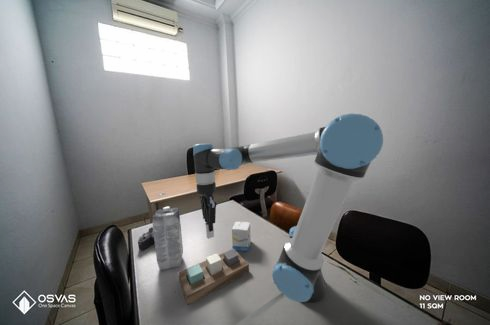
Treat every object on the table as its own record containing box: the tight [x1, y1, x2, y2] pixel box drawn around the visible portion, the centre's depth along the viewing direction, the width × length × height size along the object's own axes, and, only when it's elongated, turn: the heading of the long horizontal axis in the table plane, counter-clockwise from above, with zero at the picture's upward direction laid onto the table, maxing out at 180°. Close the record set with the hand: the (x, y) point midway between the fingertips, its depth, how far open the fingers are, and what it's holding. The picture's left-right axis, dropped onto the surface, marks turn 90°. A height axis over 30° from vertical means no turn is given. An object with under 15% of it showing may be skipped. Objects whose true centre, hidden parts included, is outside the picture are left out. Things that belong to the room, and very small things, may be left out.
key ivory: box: [205, 252, 222, 276], centre depth 72 cm, size 5×5×5 cm
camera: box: [137, 226, 155, 252], centre depth 95 cm, size 16×8×10 cm, turn 157°
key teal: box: [186, 263, 204, 286], centre depth 68 cm, size 5×5×5 cm
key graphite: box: [223, 249, 239, 267], centre depth 77 cm, size 5×5×5 cm
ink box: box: [231, 221, 252, 252], centre depth 91 cm, size 9×8×12 cm
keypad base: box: [178, 248, 250, 305], centre depth 73 cm, size 13×26×4 cm, turn 123°
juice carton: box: [151, 206, 184, 271], centre depth 79 cm, size 9×10×27 cm
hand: (210, 236), depth 73 cm, fingers closed
